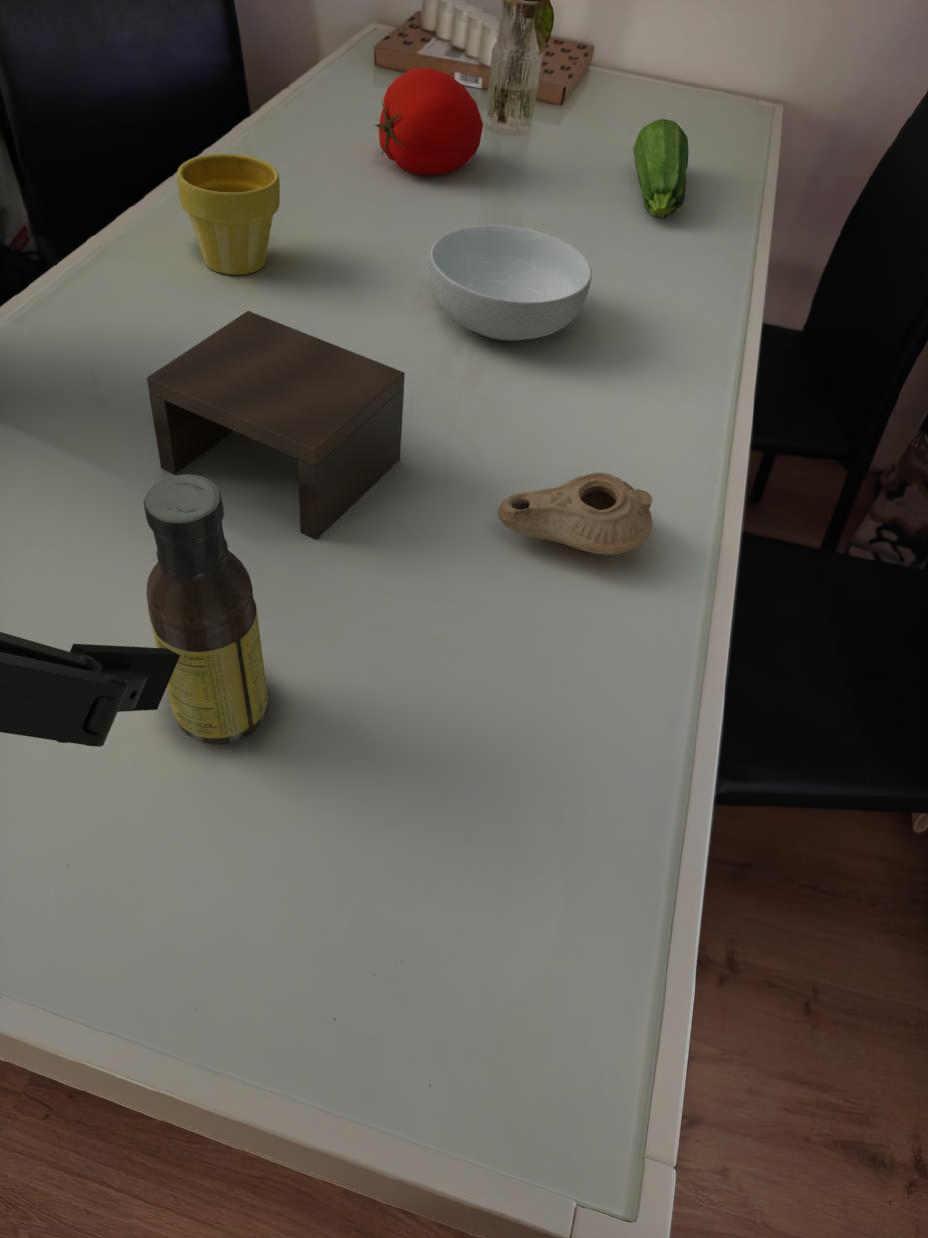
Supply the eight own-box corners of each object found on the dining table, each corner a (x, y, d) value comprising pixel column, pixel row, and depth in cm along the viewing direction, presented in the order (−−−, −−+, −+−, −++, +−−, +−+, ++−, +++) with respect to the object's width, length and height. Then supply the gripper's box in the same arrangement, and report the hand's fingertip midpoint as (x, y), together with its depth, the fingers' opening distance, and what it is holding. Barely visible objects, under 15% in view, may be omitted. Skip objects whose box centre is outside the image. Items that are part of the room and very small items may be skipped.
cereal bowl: (611, 345, 105) (625, 283, 100) (477, 380, 98) (485, 315, 93) (524, 271, 115) (533, 211, 109) (397, 298, 108) (400, 235, 103)
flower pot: (248, 230, 115) (242, 143, 108) (301, 267, 110) (298, 179, 103) (169, 253, 110) (157, 163, 103) (221, 293, 105) (212, 202, 98)
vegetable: (681, 102, 133) (687, 164, 120) (692, 154, 138) (699, 219, 124) (627, 121, 136) (627, 183, 122) (640, 172, 140) (642, 237, 127)
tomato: (460, 176, 138) (375, 192, 133) (439, 77, 134) (350, 89, 129) (506, 155, 127) (415, 172, 122) (484, 46, 123) (390, 58, 118)
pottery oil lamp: (486, 501, 85) (523, 427, 82) (608, 551, 88) (647, 481, 85) (498, 540, 77) (539, 459, 74) (631, 593, 80) (675, 517, 78)
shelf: (160, 468, 85) (146, 377, 78) (254, 397, 93) (248, 309, 86) (316, 540, 80) (314, 450, 74) (400, 459, 88) (405, 372, 82)
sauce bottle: (231, 670, 70) (203, 441, 56) (288, 722, 68) (274, 496, 53) (153, 718, 67) (102, 488, 52) (210, 776, 64) (172, 549, 50)
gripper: (-106, 636, 23) (298, 655, 43) (-706, 290, 29) (-112, 449, 50) (-225, 929, 23) (231, 811, 43) (-788, 522, 30) (-166, 585, 50)
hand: (49, 617), depth 47 cm, fingers open, 13 cm apart
